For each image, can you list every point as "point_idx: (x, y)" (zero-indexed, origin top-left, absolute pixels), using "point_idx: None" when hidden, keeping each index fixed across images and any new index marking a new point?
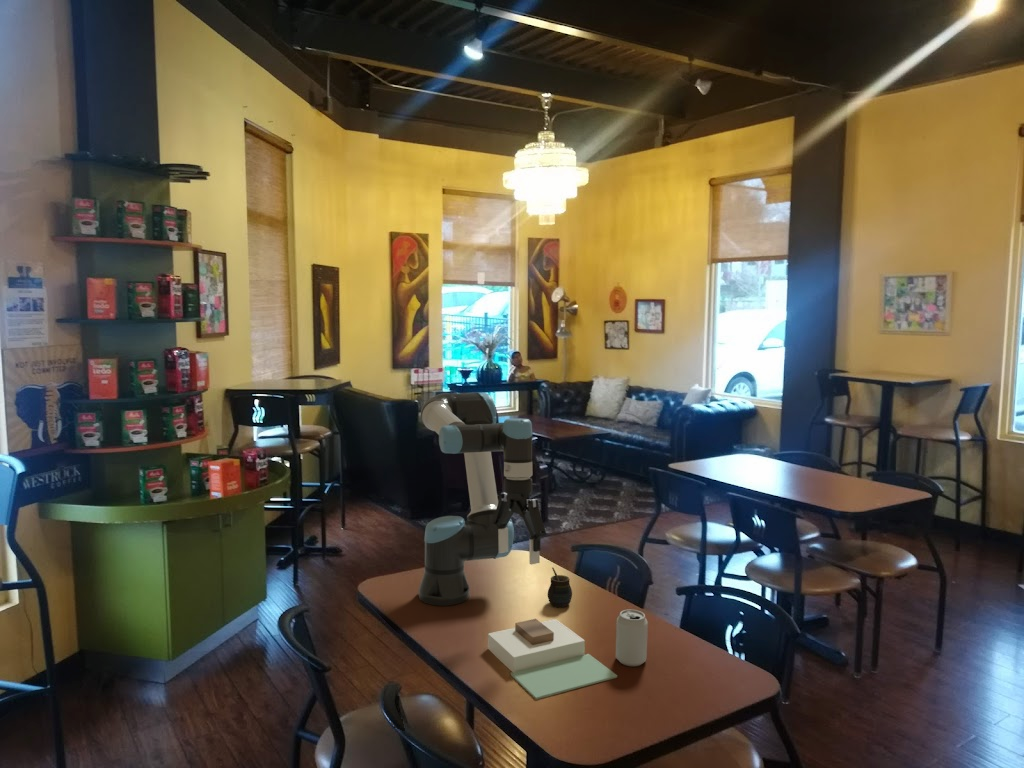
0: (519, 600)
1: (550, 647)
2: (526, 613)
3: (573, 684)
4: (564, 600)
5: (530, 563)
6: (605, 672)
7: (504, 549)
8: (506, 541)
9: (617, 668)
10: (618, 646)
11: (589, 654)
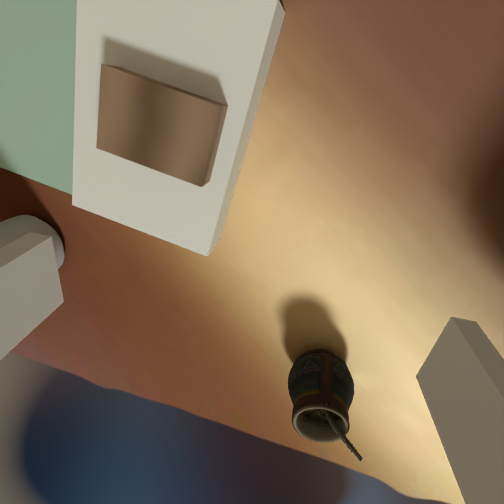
0: (423, 333)
1: (80, 99)
2: (353, 283)
3: None
4: (292, 367)
5: (36, 237)
6: (10, 156)
7: (440, 370)
8: (461, 453)
9: (26, 196)
10: (10, 229)
11: None
